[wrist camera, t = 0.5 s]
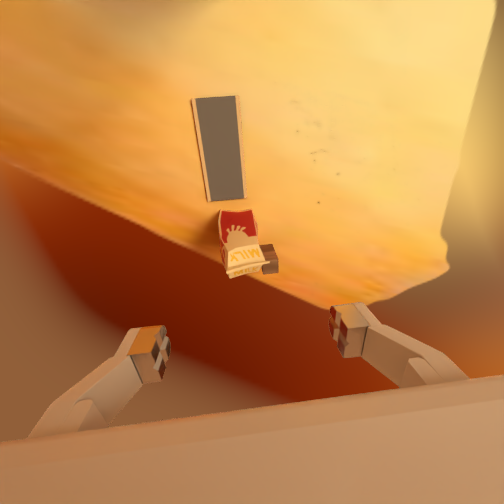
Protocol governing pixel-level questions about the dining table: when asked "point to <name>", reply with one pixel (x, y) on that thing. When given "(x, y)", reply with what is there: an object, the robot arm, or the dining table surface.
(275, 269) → the walnut block
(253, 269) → the milk carton
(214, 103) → the strip
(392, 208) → the dining table surface
